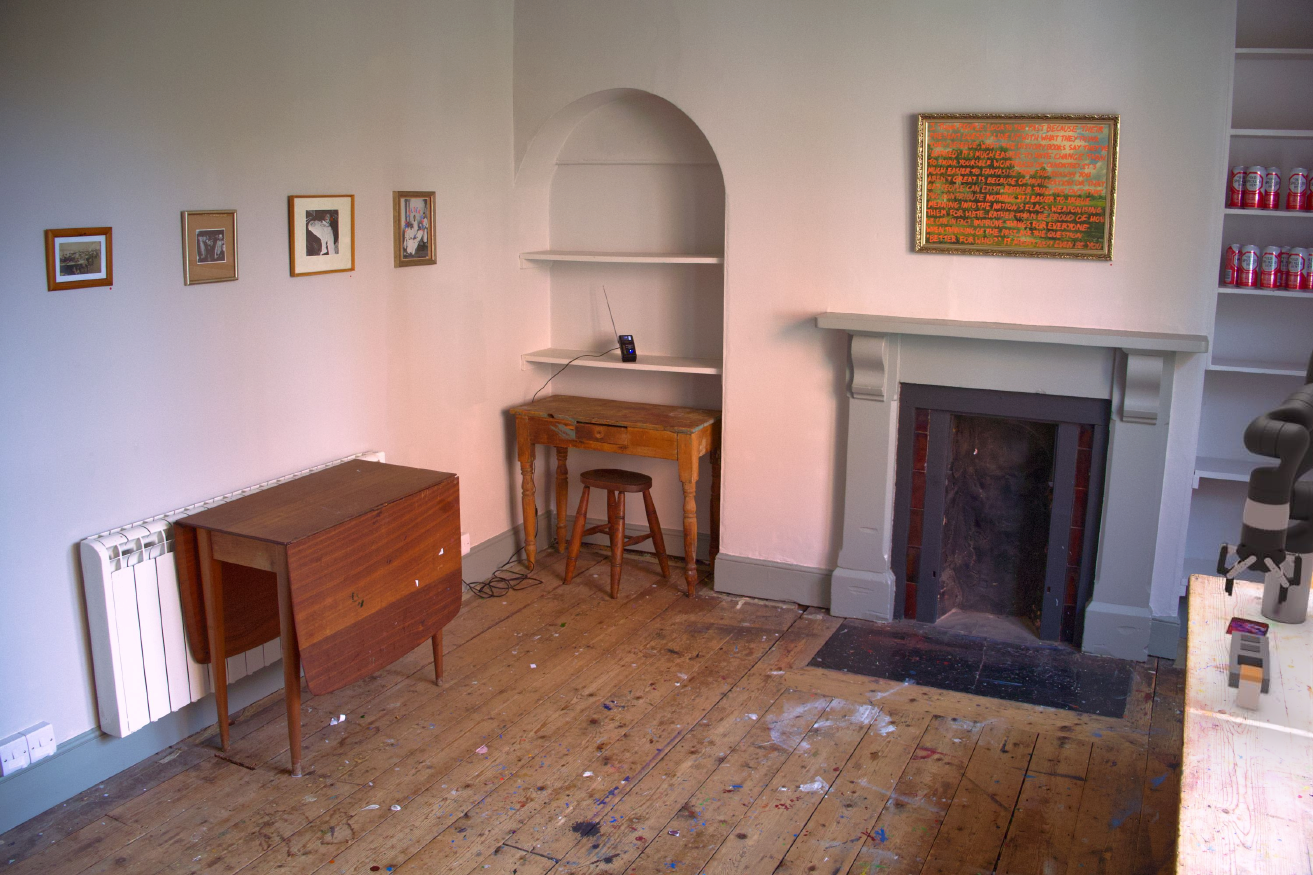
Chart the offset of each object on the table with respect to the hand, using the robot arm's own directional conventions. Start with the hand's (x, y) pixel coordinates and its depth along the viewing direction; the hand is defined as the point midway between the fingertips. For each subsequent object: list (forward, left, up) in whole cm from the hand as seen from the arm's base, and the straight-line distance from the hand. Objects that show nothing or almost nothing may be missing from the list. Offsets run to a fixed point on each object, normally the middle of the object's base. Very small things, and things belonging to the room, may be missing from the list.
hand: (1254, 598), depth 205 cm
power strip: (-12, -2, -21) cm, 24 cm away
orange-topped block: (+5, +2, -21) cm, 22 cm away
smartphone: (-32, -7, -22) cm, 39 cm away
